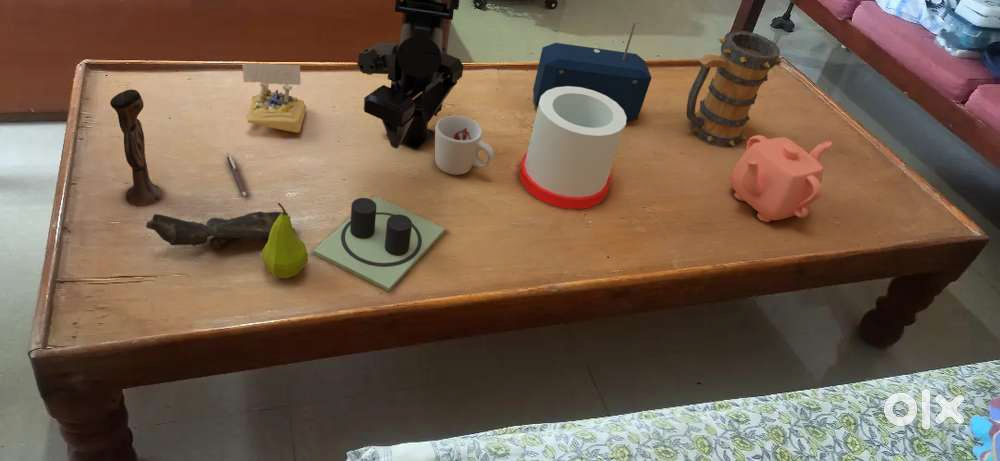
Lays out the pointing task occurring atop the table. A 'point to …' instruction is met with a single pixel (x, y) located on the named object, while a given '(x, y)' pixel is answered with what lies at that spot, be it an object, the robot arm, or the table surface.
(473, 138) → the cup
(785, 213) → the teapot
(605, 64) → the radio
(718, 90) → the mug
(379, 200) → the board
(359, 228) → the stamp
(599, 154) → the container
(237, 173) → the pen
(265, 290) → the table surface
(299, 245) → the fruit
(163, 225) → the statue
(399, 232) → the stamp
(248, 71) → the cake
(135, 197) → the figurine
